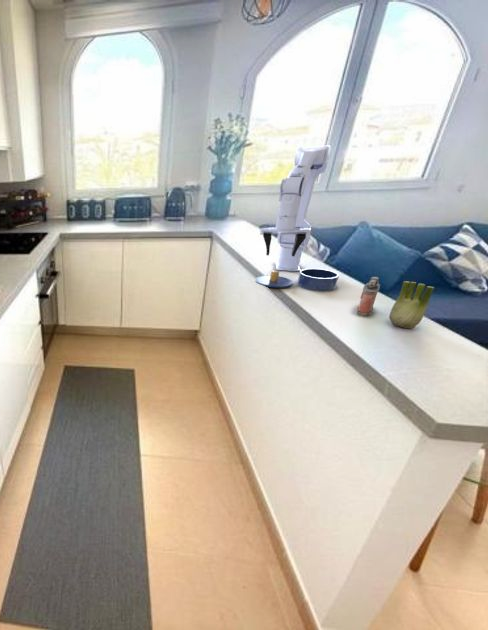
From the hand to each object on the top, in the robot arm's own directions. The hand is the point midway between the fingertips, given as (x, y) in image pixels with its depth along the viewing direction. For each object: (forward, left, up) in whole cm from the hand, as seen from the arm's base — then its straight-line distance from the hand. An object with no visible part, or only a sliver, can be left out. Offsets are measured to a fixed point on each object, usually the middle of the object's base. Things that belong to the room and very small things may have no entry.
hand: (280, 255), depth 120 cm
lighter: (+21, +21, -10) cm, 31 cm away
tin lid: (+2, -1, -10) cm, 10 cm away
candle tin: (+1, +12, -10) cm, 16 cm away
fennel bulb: (+29, +27, -10) cm, 41 cm away
